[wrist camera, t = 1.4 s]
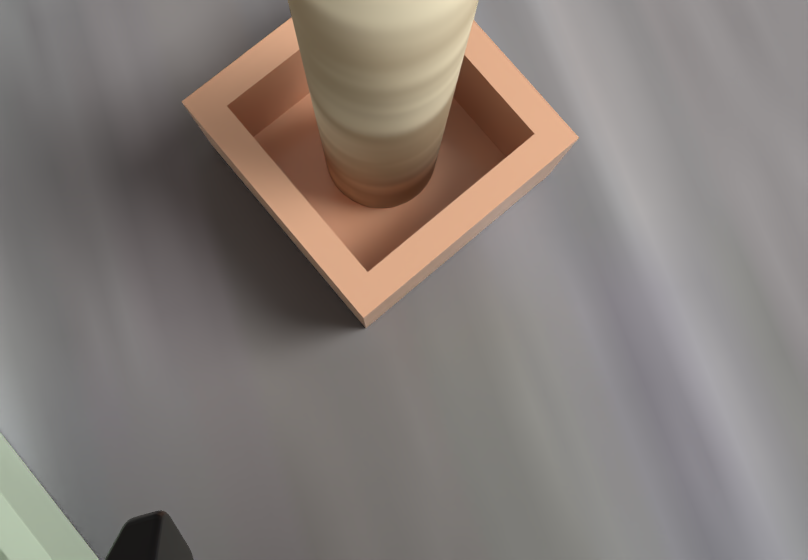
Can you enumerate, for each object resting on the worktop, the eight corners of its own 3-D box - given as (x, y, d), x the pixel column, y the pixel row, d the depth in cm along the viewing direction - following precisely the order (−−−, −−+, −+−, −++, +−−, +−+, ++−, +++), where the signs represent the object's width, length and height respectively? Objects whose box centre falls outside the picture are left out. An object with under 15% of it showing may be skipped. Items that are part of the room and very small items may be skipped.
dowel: (458, 161, 22) (574, -156, 9) (374, 231, 21) (368, 3, 9) (387, 80, 22) (400, -342, 9) (303, 147, 22) (193, -195, 9)
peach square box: (547, 175, 22) (578, 137, 19) (365, 328, 22) (363, 317, 18) (394, 2, 23) (397, -65, 20) (212, 145, 22) (181, 101, 19)
